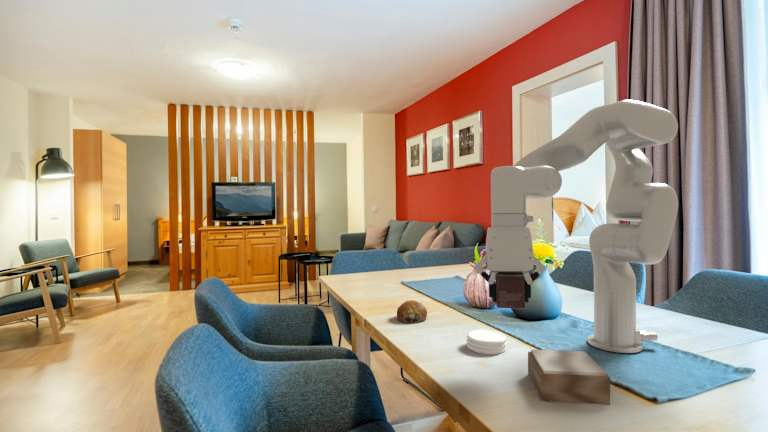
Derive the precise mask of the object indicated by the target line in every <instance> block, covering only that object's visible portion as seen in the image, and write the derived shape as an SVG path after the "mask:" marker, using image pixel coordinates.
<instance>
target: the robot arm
mask: <svg viewBox="0 0 768 432" xmlns="http://www.w3.org/2000/svg"><path fill="white" fill-rule="evenodd" d="M678 130H679V123H678V120H677V117H676V116H675V115H674V114H673V113H672V112H671V111H670V110H668V109H666V108H663V107H660V106H656V105H654V104H651V103H647V102H644V101H640V100H636V99H634V100H633V99H623V100H620V101H615V102H611V103H607V104H604V105H600V106H597V107H595V108H592V109H590V110H588V111H587V112H586V113H584V114H583V115H582V116H581V117H580V118H578V120H576V121H575V122H574V123H573V124H572V125H570V126H569V128H568V129H566V130H565V131H564V132H562V133H561V134H560V135H559V136H557V137H555V138H554V139H551V140H550V141H548V142H547V143H545V144H543V145H542V146H540V147H538V148H536V149H534V150H533V151H531V152H529V153H528V154H526V155H524V156H523V157H522V158H520V159H519V160H518V161H517V162H515V163H514V164H513V165H503V166H497V167H493V168H492V170H491V173H490V204H491V205H490V209H491V210H490V213H491V214H490V215H491V219H490V220H491V221H490V222H491V227H487V230H486V238H485V254H484V256H483V257H482V258H481V259H479V260H478V261H477V263H475V264H474V266H473V269H474V270H475V271H476V272H477V273H478V274H479V275H480V276H481V277H482V278H483V280H485V281H486V282H487V283H488V297H489V298H491V300H492V302H493V303H496V284H495V279H496V275H497V274H498V272H521V273H522V274H523V275H524V276H525V304H527V303H528V304H529V299H531V298H532V284H533V283H534V282H535V280H537V279H538V278H539V277H540V275H542V273H543V272H545V270H546V269H547V267H546V265H545V264H544V263H542V262H541V261H540V260H539V259H538V258H537V257H536V256H535V255H534V247H533V238H532V234H531V229H530V227H528V223H529V224H530V223H533V222H534V216H533V215H529V214H528V213H527V199H529V200H530V199H532V200H534V199H549V198H550V197H553V196H555V195H556V194H557V193H558V192H559V191H560V190H561V187H562V184H563V179H562V175H561V173H560V172H562V171H565V170H568V169H571V168H573V167H576V166H578V165H580V164H583V163H584V162H586V161H587V160H588V159H589V158H591V156H592V155H593V154H594V153H595V152H596V151H597V150H599V148H601V147H602V146H603V145H604V144H606V146H607V147H608V149H609V150H610V153H611V155H612V158H613V160H614V163H615V164H614V165H615V169H614V170H615V171H614V174H613V178H612V182H611V184H610V185H611V186H610V189H609V191H608V196H607V199H606V203H605V204H606V205H605V209H606V210H605V211H606V213H607V215H608V216H609V217H610V218H611V219H614V220H617V221H625V222H641V223H640V224H633V223H615V222H613V223H603V224H600V225H598V226H596V227H595V228H593V229H592V231H591V233H590V235H589V239H588V241H589V243H588V244H589V248H590V249H589V250H590V253H591V254H590V255H591V259H592V266H593V267H592V268H593V333H591V334H589V335H588V336H587V340H586V341H587V343H588V344H589V345H591V346H592V347H594V348H597V349H599V350H603V351H607V352H612V353H619V354H620V353H621V354H637V353H640V352H642V351H643V350H644V343H643V342H644V341H651V342H652V341H654V342H655V341H658V334H657V333H656V332H647V331H646V330H639V329H638V328H637V279H636V274H635V272H634V270H633V267H632V266H631V264H639V265H648V266H649V265H656V264H659V263H661V262H662V260H663V259H664V258H665V257H666V255H667V252H668V249H669V246H670V242H671V239H672V234H673V230H674V227H675V225H676V220H677V215H678V212H679V211H678V210H679V198H678V195H677V194H678V193H677V192H676V190H675V189H674V188H673V187H672V186H671V185H669V184H667V183H661V182H652V177H653V174H654V173H653V172H654V168H653V165H652V163H651V161H650V160H649V158H648V157H647V156H646V154H645V153H644V152H643V151H642V150H641V149H643V148H648V147H656V146H661V145H666V144H668V143H669V142H671V141H672V140H673V139H675V137H676V135H677V133H678ZM630 263H631V264H630ZM534 265H535V266H536V268H535V267H534ZM483 266H486V268H487V270H488V271H490V272H489V273H487V272H486V271H485V270H484V269H483ZM534 268H535V270H534ZM529 272H530V273H529Z"/></svg>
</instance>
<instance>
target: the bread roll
mask: <svg viewBox="0 0 768 432" xmlns="http://www.w3.org/2000/svg"><path fill="white" fill-rule="evenodd" d="M427 317H428V311H427V308H426V307H425V305H424V304H423V303H422V302H419V301H417V300H414V299H413V300H412V299H411V300H406V301H404V302H403V303H401V305H399V306H398V308H397V311H396V318H397V321H399V322H401V323H406V324H416V323H417V324H418V323H419V324H420V323H422V322H425V321H426V320H427Z"/></svg>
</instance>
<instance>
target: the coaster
mask: <svg viewBox="0 0 768 432" xmlns="http://www.w3.org/2000/svg"><path fill="white" fill-rule="evenodd" d="M507 340H508V339H507V336H506V335H505V334H504V333H502V332H499V331H496V330H493V329H491V330H490V329H475V330H471V331H470V332H469V331H468V333H467V335H466V347H467V348H468V349H469V350H470V351H471V352H473V353H477V354H480V355H489V356H490V355H491V356H493V355H501V354H503V353H505V352H506V351H507V348H508V347H507V346H508V345H507V344H508V343H507Z"/></svg>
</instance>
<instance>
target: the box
mask: <svg viewBox="0 0 768 432" xmlns="http://www.w3.org/2000/svg"><path fill="white" fill-rule="evenodd" d="M495 284H496V302H495V305H496V308H498V309H521V310H523V309H526V302H525V276H524V275H523V274H522V273H521V272H498V274H497V275H496V279H495Z"/></svg>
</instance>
